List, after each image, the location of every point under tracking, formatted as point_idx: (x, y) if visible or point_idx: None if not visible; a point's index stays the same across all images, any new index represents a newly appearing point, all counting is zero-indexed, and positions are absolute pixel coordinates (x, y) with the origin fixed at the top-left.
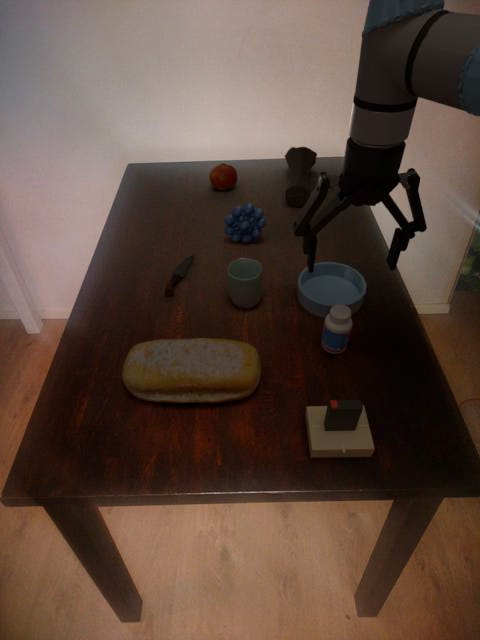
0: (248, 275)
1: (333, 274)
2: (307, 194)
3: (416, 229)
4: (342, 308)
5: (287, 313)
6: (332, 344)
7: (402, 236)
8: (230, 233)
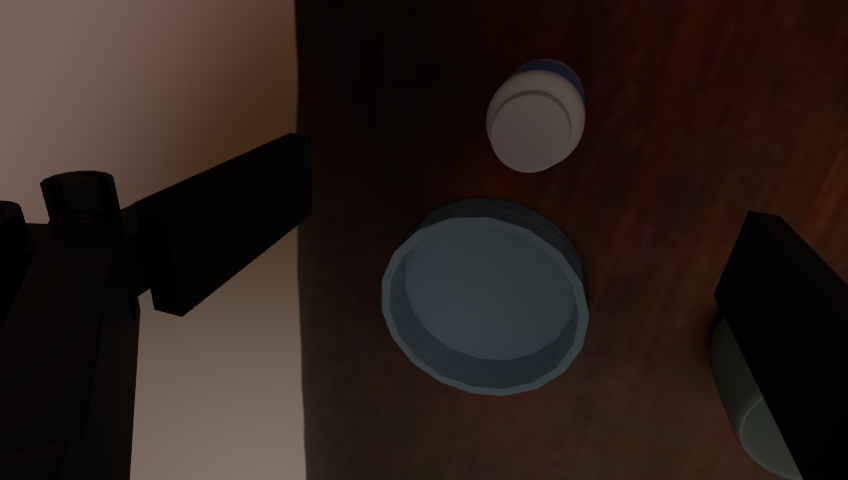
0: (767, 409)
1: (452, 352)
2: None
3: (36, 234)
4: (517, 148)
5: (640, 252)
6: (565, 69)
7: (150, 216)
8: None
